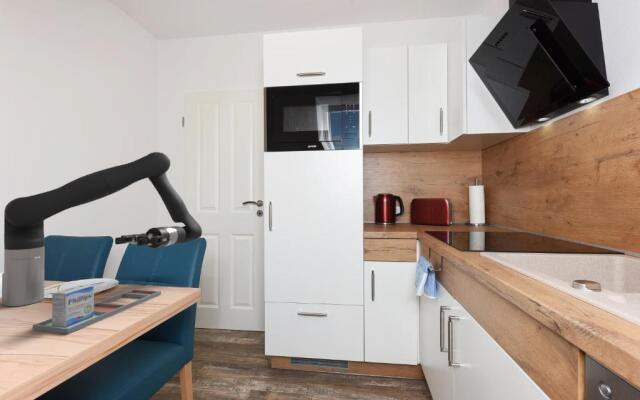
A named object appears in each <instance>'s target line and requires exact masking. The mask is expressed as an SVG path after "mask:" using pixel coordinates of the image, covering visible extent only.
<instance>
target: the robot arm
mask: <svg viewBox="0 0 640 400" xmlns="http://www.w3.org/2000/svg"><path fill="white" fill-rule="evenodd" d="M170 167H171V160H170V158H169V156H168V155H167V154H166V153H163V152H159V151H153V152H150V153H148V154H146V155H144V156H141V158H140V157H139V158H138V159H136V160H134V161H131V162H128V163H124V164H120V165H115V166H111V167H107V168H104V169H100V170H97V171H95V172H91V173H88V174H85V175H83V176H79V177H78V178H76V179H74V180H71V181H69V182H67V183H66V184H64V185H62V186H59V187H56V188H54V189H51V190H47V191H43V192H40V193H36V194H32V195H28V196H20V197H17V198H14V199H11V200H10V201H9V202H8V203H7V204H6V205H5V207H4V210H3V211H4V212H3V213H4V215H3V222H4V224H3V227H4V230H3V232H4V233H3V246H4V247H3V249H4V250H3V251H4V252H3V255H4V256H3V259H4V260H3V273H2V274H1V305H2V304H3V306H4V307H20V306H27V305H32V304H35V303H39V302H42V301H43V300H44V299H45V245H46V244H45V243H46V242H45V241H46V239H45V224H44V223H45V220H47V219H49V218H51V217H53V216H56V215H57V214H60V213H62V212H64V211H66V210H70V209H72V208H74V207H75V208H76V207H79V206H82V205H85V204H86V205H87V204H89V203H91V202H95V201H98V200H100V199H103V198H105V197H108V196H110V195H113V194H115V193H117V192H120V191H121V190H124V189H126V188H127V187H129V186H131V185H133V184H135V183H137V182H139V181H142V180H145V179H148V180H149V182H151V185H152V186H153V188H154V189H155V190H156V192H157V193H158V196H159V197H160V199H161V200H162V202H163V204H164V206H165V208H166V210H167V213H168V214H169V216H170V219H171V220H172V221H173V223H176V224H178V223H179V224H180V223H181V224H183V226H178V225H176V226H175V225H174V226H173V225H172V226H159V227H158V226H157V227H151V228H149V229H148V230H146V232H141V233H132V234H126V235H125V234H122V235H120V236H119V237H118V236H117V237H115V239H114V244H115V245H125V244H131V245H137V246H138V247H141V246H146V245H147V247H149V248H150V249H157V248H164V247H169V246H171V245H176V244H185V243H188V242H191V241H195V240H198V239H200V238H201V237H202V235H203V229H202V227H201V225H200V224H199V223H198V221H196V219H195V218H194V217H193V216H192V215H191V213H190V212H189V210H188V208H187V207H186V206H187V205H186V204H185V202H184V200H183V198H182V197H181V196H180V195H179V194H178V191H176V189H174V187H173V185H172V184H171V181H170V180H169V178H168V176H167V172H168V171H169V169H170Z"/></svg>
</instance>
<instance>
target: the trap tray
mask: <svg viewBox="0 0 640 400" xmlns="http://www.w3.org/2000/svg"><path fill="white" fill-rule="evenodd" d="M159 296H162V291H161V290H153V289H152V290H150V289H149V290H148V289H139V288H138V289H136V288H133V289H129V290H127V291H125V292H121V293H119V294H116V295H113V296H110V297H108V298H104V299H102V300H99V301H96V302H94V315H100V316H97V317H95V318H92V319H90V320H87V321H85V322H82V323H80V324H78V325H75V326H73V327H70V328H64V327H56V326H47V325H46V324H49V323H52V317H51V318H48V319H46V320H43V321H40V322H37V323H34V324H33V325H32V330H33V331H38V332H39V331H40V332H46V333H47V332H48V333H55V334H56V333H57V334H63V335H69V334H72V333H76V332H77V331H79V330H82V329H84V328H86V327H89V326H91V325H93V324H96V323H98V322H99V321H103V320H105V319H107V318H110V317H112V316H115V315H116V314H119V313H121V312H123V311H124V312H125V311H126V310H129V309H131V308H133V307H135V306H139V305H140V304H142V303H144V302H147V301H149V300H152V299H154V298H157V297H159ZM122 298H132V299H136V300H134V301H132V302H129V303H127V304H121V303H111V302H114V301H115V300H119V299H122Z"/></svg>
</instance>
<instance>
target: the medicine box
mask: <svg viewBox="0 0 640 400" xmlns="http://www.w3.org/2000/svg"><path fill="white" fill-rule="evenodd" d="M94 291H95V286H94V285H88V284H82V285H78V286H74V287H70V288H66V289H63V290H60V291H57V292H53V293H52V294H51V296H52V297H51V307H52V308H51V315H52V317H51V318H52V326H57V327H69V326H71V325H74V324H76V323H78V322H81V321H83V320H86V319H88V318H91V317H93V316H94V303H95V302H94V301H95V297H94V296H95V293H94Z"/></svg>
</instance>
